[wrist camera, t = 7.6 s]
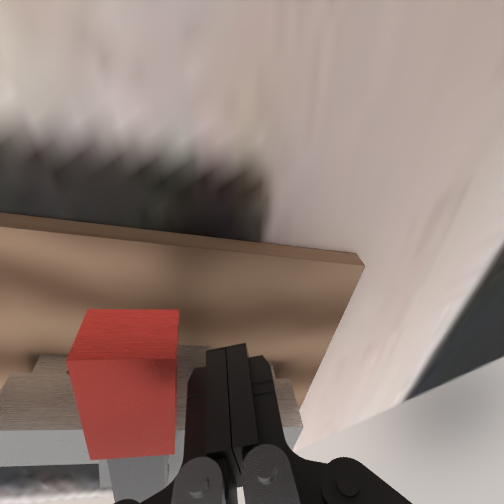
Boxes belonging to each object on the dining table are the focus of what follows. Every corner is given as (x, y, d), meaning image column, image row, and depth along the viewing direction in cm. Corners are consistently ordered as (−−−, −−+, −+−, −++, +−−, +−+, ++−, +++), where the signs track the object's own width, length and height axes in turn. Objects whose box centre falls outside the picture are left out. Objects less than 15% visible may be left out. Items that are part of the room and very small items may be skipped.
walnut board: (-53, 206, 18) (-72, 219, 16) (356, 253, 23) (365, 266, 22) (12, 438, 29) (4, 456, 27) (277, 434, 34) (280, 449, 33)
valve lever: (98, 276, 12) (61, 360, 9) (184, 278, 12) (179, 358, 9) (127, 482, 20) (113, 565, 16) (179, 477, 20) (175, 557, 17)
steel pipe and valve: (20, 337, 21) (-37, 433, 16) (289, 349, 25) (312, 428, 20) (32, 396, 24) (-13, 492, 19) (270, 398, 28) (286, 478, 23)
